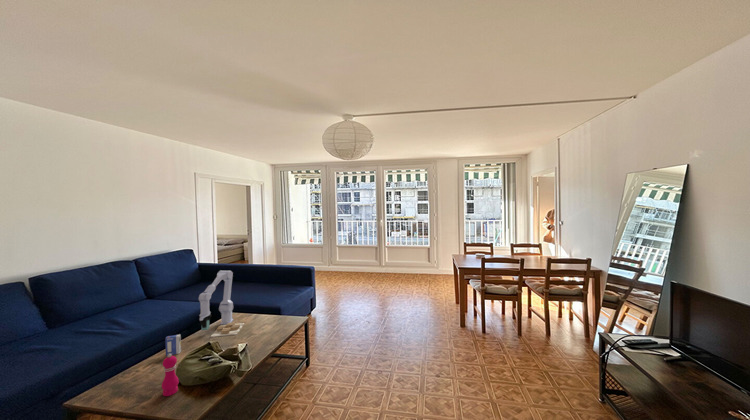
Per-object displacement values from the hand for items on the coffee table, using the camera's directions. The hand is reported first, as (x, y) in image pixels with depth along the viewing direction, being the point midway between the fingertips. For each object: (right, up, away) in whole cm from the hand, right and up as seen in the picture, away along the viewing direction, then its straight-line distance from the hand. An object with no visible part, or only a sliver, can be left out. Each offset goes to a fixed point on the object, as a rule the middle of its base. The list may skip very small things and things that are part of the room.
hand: (205, 326), depth 212 cm
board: (+14, -6, +7) cm, 17 cm away
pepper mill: (+23, -6, -68) cm, 72 cm away
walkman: (-4, -6, -28) cm, 29 cm away
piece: (0, -2, 0) cm, 2 cm away
